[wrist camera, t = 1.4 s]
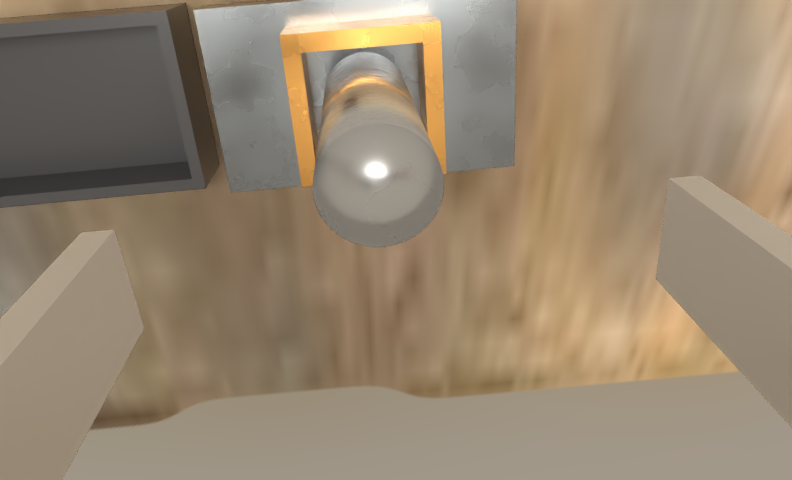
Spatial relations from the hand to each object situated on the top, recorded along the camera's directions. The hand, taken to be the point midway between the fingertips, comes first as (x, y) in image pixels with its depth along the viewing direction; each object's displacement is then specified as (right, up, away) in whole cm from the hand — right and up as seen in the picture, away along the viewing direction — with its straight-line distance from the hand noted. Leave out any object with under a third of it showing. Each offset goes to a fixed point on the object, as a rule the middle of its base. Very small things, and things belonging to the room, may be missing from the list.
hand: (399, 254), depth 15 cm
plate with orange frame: (-2, +10, +20) cm, 22 cm away
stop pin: (-2, +8, +16) cm, 17 cm away
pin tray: (-19, +8, +19) cm, 28 cm away
